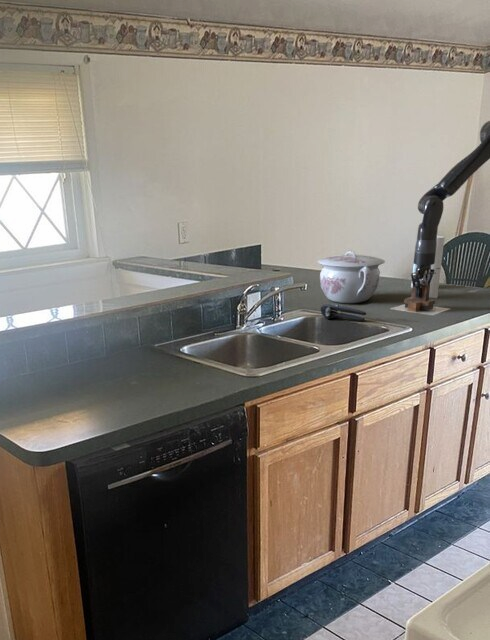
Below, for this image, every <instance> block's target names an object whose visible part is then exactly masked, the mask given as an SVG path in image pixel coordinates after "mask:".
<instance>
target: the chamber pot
mask: <svg viewBox="0 0 490 640" xmlns="http://www.w3.org/2000/svg"><path fill="white" fill-rule="evenodd" d="M317 263H318V264H319V265H321V266H322V269H321V271H320V272H319V282H320V288H321V290H322V292H323V294H324V296H325V297H326V299H328V300H329V301H331V302H334V303H337V304H344V305H345V304H346V305H347V304H348V305H351V304H360V303H364V302H366V301H368V300H370V298H371V297H372V296H373V295H374V293H375V292H376V291H377V289H378V286H379V282H380V278H381V271H380V269H379V266H382V265H383V264H385V263H386V259H383V258H381V257H378V256H373V255H367V254H356V253H355V251H353V250H349V251H347V252H346V253H345V254H335V255H331V256H330V255H329V256H324V257H322V258H319V259H318V260H317Z"/></svg>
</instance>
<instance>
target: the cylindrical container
mask: <svg viewBox="0 0 490 640" xmlns="http://www.w3.org/2000/svg"><path fill="white" fill-rule="evenodd" d="M445 238H446V237H445V236H444V235H437V247H436V256H435V263H434V264H433V265H431V269H434V274H433V277H432V279H431V282H430V292H429V299H438V294H439V285H440V278H441V270H442V261H443V255H444V246H445Z"/></svg>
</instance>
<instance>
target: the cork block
mask: <svg viewBox="0 0 490 640" xmlns="http://www.w3.org/2000/svg"><path fill="white" fill-rule="evenodd" d="M420 305H421V302H417V301H411V302H408V309H407V311H410V312H409V313H414V312H418V311H420ZM407 311H406V312H407Z"/></svg>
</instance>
